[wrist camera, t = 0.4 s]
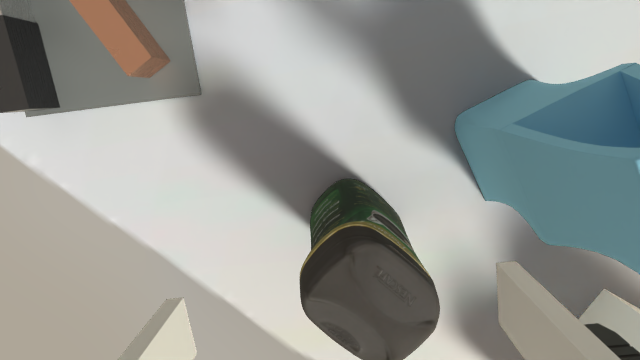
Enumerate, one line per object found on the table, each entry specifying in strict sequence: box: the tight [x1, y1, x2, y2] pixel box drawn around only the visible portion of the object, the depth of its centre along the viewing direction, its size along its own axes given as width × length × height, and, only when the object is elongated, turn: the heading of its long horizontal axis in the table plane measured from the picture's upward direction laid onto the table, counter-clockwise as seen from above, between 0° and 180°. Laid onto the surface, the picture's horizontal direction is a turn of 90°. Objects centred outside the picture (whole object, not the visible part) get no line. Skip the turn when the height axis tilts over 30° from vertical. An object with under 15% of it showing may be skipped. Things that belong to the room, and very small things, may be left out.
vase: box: [455, 63, 640, 274], centre depth 27 cm, size 10×10×25 cm
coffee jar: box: [300, 179, 440, 360], centre depth 33 cm, size 10×8×19 cm
